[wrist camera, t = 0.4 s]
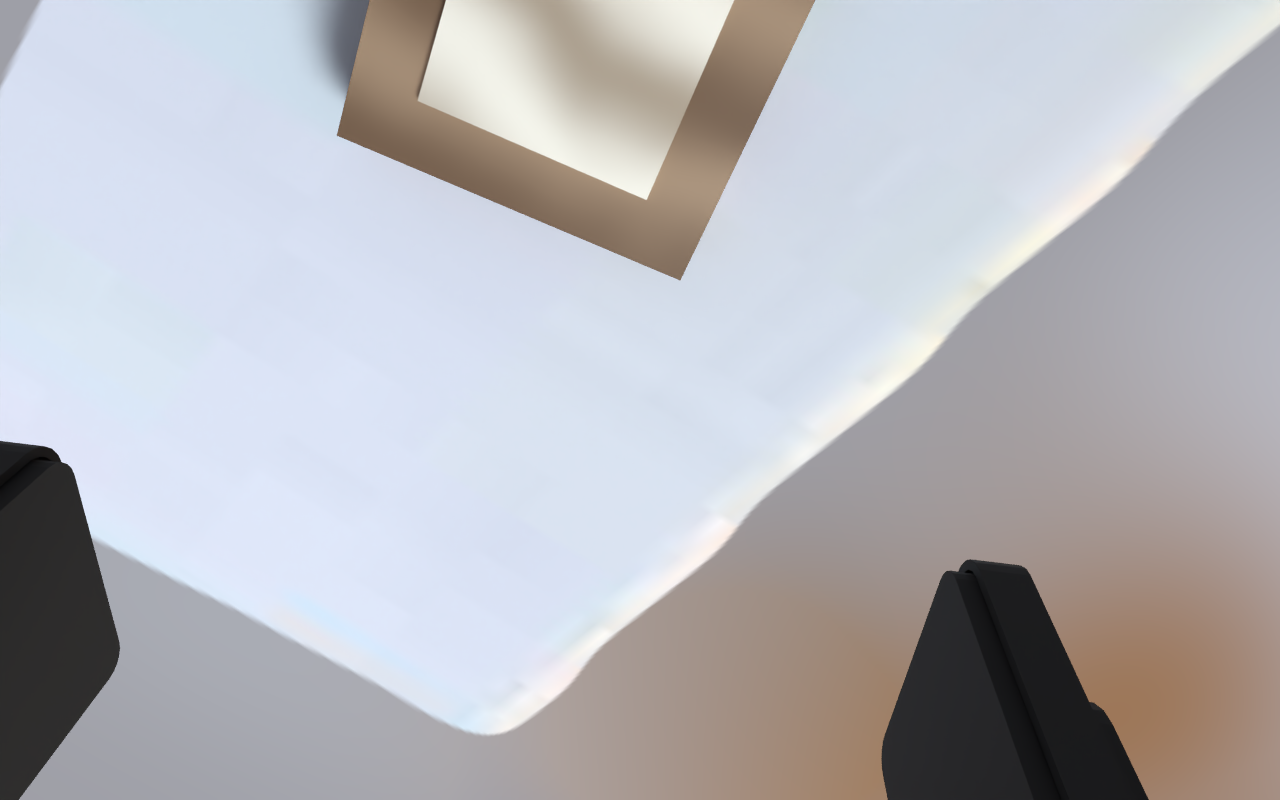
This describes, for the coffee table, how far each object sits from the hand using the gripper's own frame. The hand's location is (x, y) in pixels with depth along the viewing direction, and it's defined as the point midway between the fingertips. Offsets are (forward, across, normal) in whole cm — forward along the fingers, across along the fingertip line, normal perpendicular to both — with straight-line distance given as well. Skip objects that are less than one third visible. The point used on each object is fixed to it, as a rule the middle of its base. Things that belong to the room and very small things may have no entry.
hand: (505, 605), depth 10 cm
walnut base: (+29, +3, -2) cm, 29 cm away
